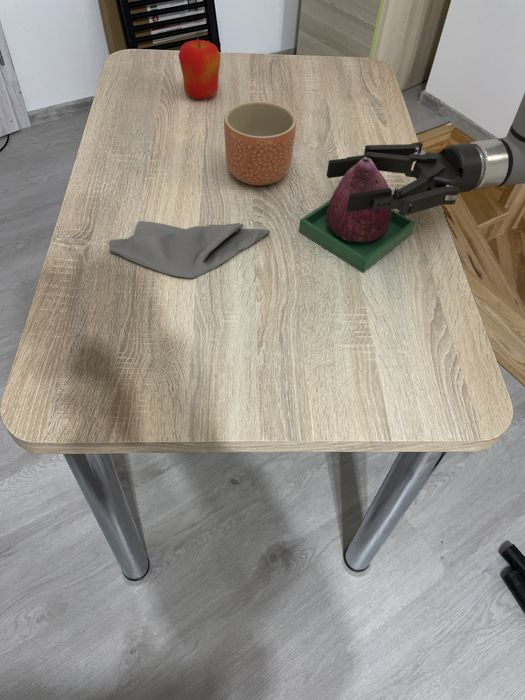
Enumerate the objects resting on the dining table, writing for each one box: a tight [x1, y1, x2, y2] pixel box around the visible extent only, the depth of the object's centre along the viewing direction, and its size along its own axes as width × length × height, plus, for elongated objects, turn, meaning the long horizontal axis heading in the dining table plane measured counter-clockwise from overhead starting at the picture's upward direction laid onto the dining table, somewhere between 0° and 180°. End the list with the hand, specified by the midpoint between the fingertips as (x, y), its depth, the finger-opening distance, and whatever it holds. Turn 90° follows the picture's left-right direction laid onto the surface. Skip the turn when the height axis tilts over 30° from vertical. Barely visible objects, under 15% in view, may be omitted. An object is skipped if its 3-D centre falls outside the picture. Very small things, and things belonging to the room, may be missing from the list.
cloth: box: [108, 220, 271, 279], centre depth 86 cm, size 26×14×2 cm, turn 90°
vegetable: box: [326, 157, 392, 242], centre depth 84 cm, size 10×10×15 cm
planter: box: [223, 100, 297, 187], centre depth 96 cm, size 12×12×11 cm
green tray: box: [298, 198, 417, 273], centre depth 90 cm, size 14×14×3 cm
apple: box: [178, 37, 221, 100], centre depth 113 cm, size 9×8×12 cm
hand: (338, 185), depth 82 cm, fingers closed on vegetable, 8 cm apart
